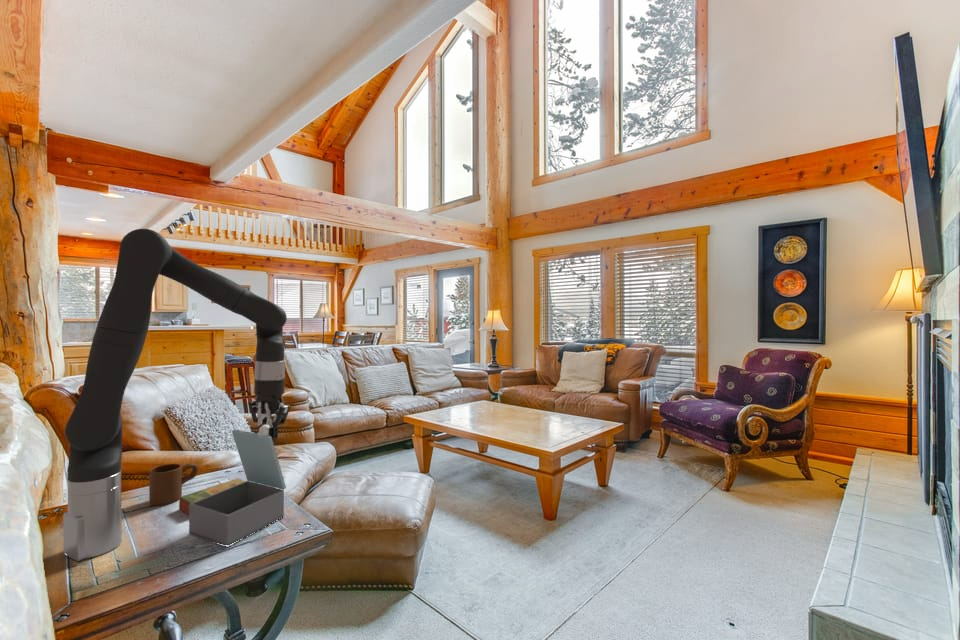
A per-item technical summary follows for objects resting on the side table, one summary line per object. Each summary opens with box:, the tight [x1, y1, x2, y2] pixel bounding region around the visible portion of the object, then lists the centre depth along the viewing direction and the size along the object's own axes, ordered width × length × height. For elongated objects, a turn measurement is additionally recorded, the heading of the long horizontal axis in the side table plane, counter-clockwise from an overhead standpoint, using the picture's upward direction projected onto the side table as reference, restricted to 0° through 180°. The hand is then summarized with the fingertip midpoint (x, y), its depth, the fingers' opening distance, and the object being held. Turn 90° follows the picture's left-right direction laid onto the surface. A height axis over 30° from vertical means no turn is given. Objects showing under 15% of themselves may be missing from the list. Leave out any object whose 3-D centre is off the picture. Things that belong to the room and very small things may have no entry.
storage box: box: [188, 480, 285, 545], centre depth 110 cm, size 16×14×8 cm
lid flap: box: [231, 424, 287, 490], centre depth 118 cm, size 16×14×6 cm
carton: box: [178, 478, 246, 517], centre depth 123 cm, size 8×16×4 cm, turn 145°
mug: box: [148, 462, 199, 506], centre depth 126 cm, size 12×8×9 cm, turn 139°
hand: (268, 439), depth 118 cm, fingers closed on lid flap, 3 cm apart
